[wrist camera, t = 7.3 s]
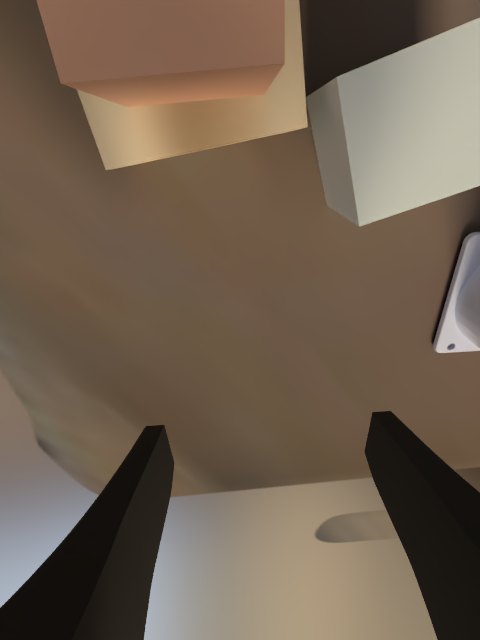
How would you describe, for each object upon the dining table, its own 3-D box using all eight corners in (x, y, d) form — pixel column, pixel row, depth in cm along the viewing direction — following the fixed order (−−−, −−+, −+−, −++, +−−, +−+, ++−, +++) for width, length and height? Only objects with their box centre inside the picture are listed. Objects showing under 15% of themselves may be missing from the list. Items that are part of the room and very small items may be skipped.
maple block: (267, -122, 11) (283, -242, 8) (290, 131, 15) (307, 127, 12) (60, -65, 12) (-11, -154, 8) (134, 164, 16) (106, 170, 12)
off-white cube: (416, 52, 14) (502, 8, 9) (422, 171, 16) (493, 181, 12) (305, 97, 14) (336, 76, 10) (326, 205, 17) (359, 226, 12)
